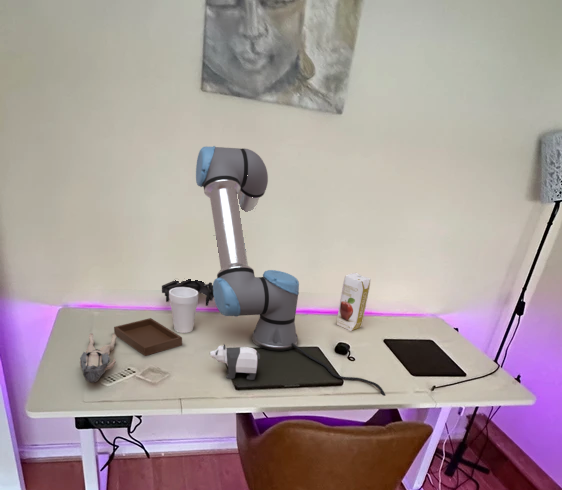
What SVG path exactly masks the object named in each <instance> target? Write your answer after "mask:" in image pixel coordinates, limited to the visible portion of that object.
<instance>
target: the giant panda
mask: <svg viewBox="0 0 562 490" xmlns="http://www.w3.org/2000/svg"><path fill="white" fill-rule="evenodd" d="M209 356H210V357H211V358H213V359H214V360H216V361H217V362H218V363H223V364H226V366H227V368H228V369H226V373H228V374H227V375H226V376H225V378H226V379H231V380H232V379H235V378H236V374H237V373H241V374H247V376H246V380H249V381H253V380H254V381H255V379H256V376H257V370H258V360H261V353H259V352H258V351H257V350H256V349H255V348H253V347H248V346H242V347H241V346H239V347H226V345H225V343H223V345H218V346H217V347H216V349H214V350H211V351H209Z"/></svg>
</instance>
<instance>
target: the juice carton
mask: <svg viewBox="0 0 562 490" xmlns="http://www.w3.org/2000/svg"><path fill="white" fill-rule="evenodd" d="M371 280H372V279H371V277H368V276H363V275H361V274H359V273H357V272H352V273H349V274H346V275H345V276H344V279H343V283H342V289H341V295H340V300H339V305H338V311H337V316H336V325H337V326H339V327H341V328H344V329H346V330H347V331H350V332H352V331H354V330H357V329H360V328H361V327H362V325H363V322H364V317H365V312H366V307H367V303H368V298H369V293H370V286H371Z"/></svg>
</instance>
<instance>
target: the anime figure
mask: <svg viewBox="0 0 562 490" xmlns="http://www.w3.org/2000/svg"><path fill="white" fill-rule="evenodd" d="M111 337H112V338H111V339H110V340H111V341H110V344H105V345H103V346H101V347H100V348H99V349H96V348H95V344H96V343H95V340H94V334H93V333H89V334H88V339H89V344H88V345H87V348H86V350H85V351H83V352H82V354H81V356H80V357H79V365H80V368H81V370H82V375H83V377H84V379H85V380H86V381H87V382H89V383H96V382H98V381H99V380H100V379H101V377H102V376H103V375H104V374H105V373H106V371H107V370H111V369H113V367H114V366H115V364H116V359H115V358H112V359H113V361H111V357H110V354H111V352H112V351H113V350H114V349H115V343H116V341H117V338H118V337H117V336H116V335H115V334H112V335H111ZM110 361H111V362H110Z"/></svg>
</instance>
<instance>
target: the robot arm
mask: <svg viewBox="0 0 562 490" xmlns="http://www.w3.org/2000/svg"><path fill="white" fill-rule="evenodd" d="M195 167H196V168H195V182H196V185H197V186H198V187H200V188H203V192H204V195H205V196H206V197H207V198H209V201H210V207H211V213H212V219H213V227H214V232H215V236H216V240H217V247H218V253H219V256H218V260H219V266H220V270H219V271H218V272H217V275H216V278H215V279H214V280H213V282H211V281H210V282H208V283H206V282H205V283H204V282H202V281H198V280H195V281H191V279H188V280H186V281H183V280H182V281H181V283H179V281H180V280H179V281H176V280H175V279H174V280H175V281H174V280H172V281H170V282H168V283H165V284H163V285H161V293H162V294H164V296H165V302H166V303H170V300H169V290H171V289H172V288H176V287H188V288H192V289H195V290H196V291H198V294H203V295H204V296H205V307H206V306H207V307H209V303H210V302H212V301H214V303H215V306H216V308H217V311H218V312H219V313H220V314H221V315H223V316H224V317H236V318H238V317H245V316H259V318H258V320H257V323H256V325H255V328H254V329H253V331H252V338H251V340H252V343H253V344H254V345H256V346H257V347H258V348H262V349H264V350H267V351H273V352H285V351H290V350H293V349H294V348H295V349H296V350H298V351H299V352H300V353H302V354H303V355H304V356H306V358H309V359H310V360H311V361H314V362H316V363H318V364H320V366H323V367H324V368H325V369H326V370H327V371H328V373H329V374H330V375H331V376H333V377H335V378H336V379H340V380H346V381H359V382H364V383H367V384H370V385H372V386H374V387H376V388H377V389H378V390H379V391H380V393H381V396H384V397H385V396H386V392H385V391H384V389H383V388H382V387H381V386H380V384H378V383H376V382H374V381H371V380H368V379H365V378H361V377H354V376H342V375H339V374H336V373H335V372H333V370H332V369H331V368H330V367H329V366H328V365H327V364H326V363H324V362H323V361H322V360H319V359H317V358H315V357H314V356H312V355H310V354H309V353H307V352H306V351H305V350H304V349H302V348H300V347H299V346H298V340H299V338H298V337H299V336H298V334H297V329H296V323H295V320H296V313H297V307H298V299H299V294H300V292H299V291H300V282H299V280H298V278H297V277H295V276H294V275H292V274H291V273H287V272H284V271H281V270H276V269H268V270H265V271H264V272H263V274H262V276H255V270H254V268H252V267H251V266H250V265H249V262H248V257H247V251H246V249H245V243H244V237H243V230H242V224H241V218H240V211H239V205H238V199H239V204H240V207H241V209H242V210H244V211H245V212H248V211H251V210H253V209H254V207H255V206H256V205H257V206H258V202H259V200H260V198H262V197H263V196H264V195H265V193H266V190H267V188H268V182H269V174H268V170H267V169H268V168H267V166H266V164H265V162H264V161H263V158H262V157H261V156H260V155H259V154H258V153H257V152H256V151H254V150H251V149H250V148H245V147H244V148H239V147H224V146H216V145H213V146H202V147H201V148H200V150H199V151H198V154H197V158H196V165H195ZM247 175H248V176H247ZM237 194H238V199H237ZM252 197H253V198H252ZM257 206H256V207H257Z"/></svg>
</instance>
